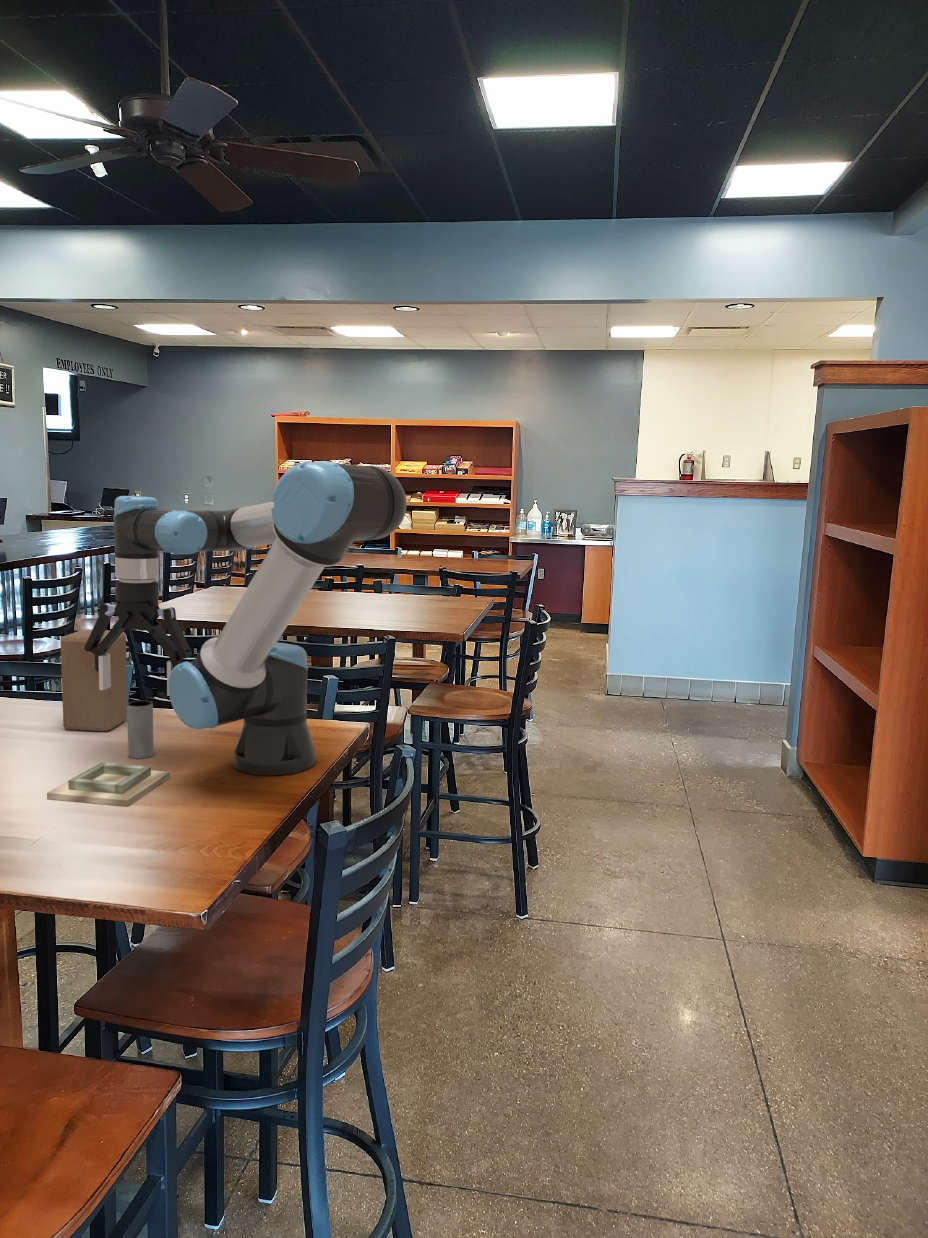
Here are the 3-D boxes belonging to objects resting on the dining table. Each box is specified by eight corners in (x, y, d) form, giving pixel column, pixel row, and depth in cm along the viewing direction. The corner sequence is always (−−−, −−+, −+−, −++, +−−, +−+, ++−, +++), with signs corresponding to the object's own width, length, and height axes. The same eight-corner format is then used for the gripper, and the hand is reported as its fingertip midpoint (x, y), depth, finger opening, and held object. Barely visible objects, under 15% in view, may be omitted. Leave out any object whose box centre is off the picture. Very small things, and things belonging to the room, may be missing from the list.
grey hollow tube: (158, 754, 157) (158, 702, 155) (140, 760, 153) (139, 707, 151) (141, 750, 159) (140, 698, 157) (122, 756, 154) (121, 703, 153)
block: (109, 733, 169) (106, 638, 166) (61, 730, 169) (58, 636, 166) (129, 719, 179) (127, 630, 176) (84, 718, 179) (81, 628, 176)
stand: (169, 777, 144) (169, 763, 144) (127, 806, 131) (127, 791, 130) (96, 770, 146) (96, 757, 146) (47, 799, 132) (46, 784, 132)
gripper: (210, 582, 153) (209, 691, 156) (86, 574, 156) (88, 681, 159) (191, 586, 145) (192, 701, 149) (62, 577, 148) (65, 690, 152)
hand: (138, 691), depth 154 cm, fingers open, 13 cm apart
